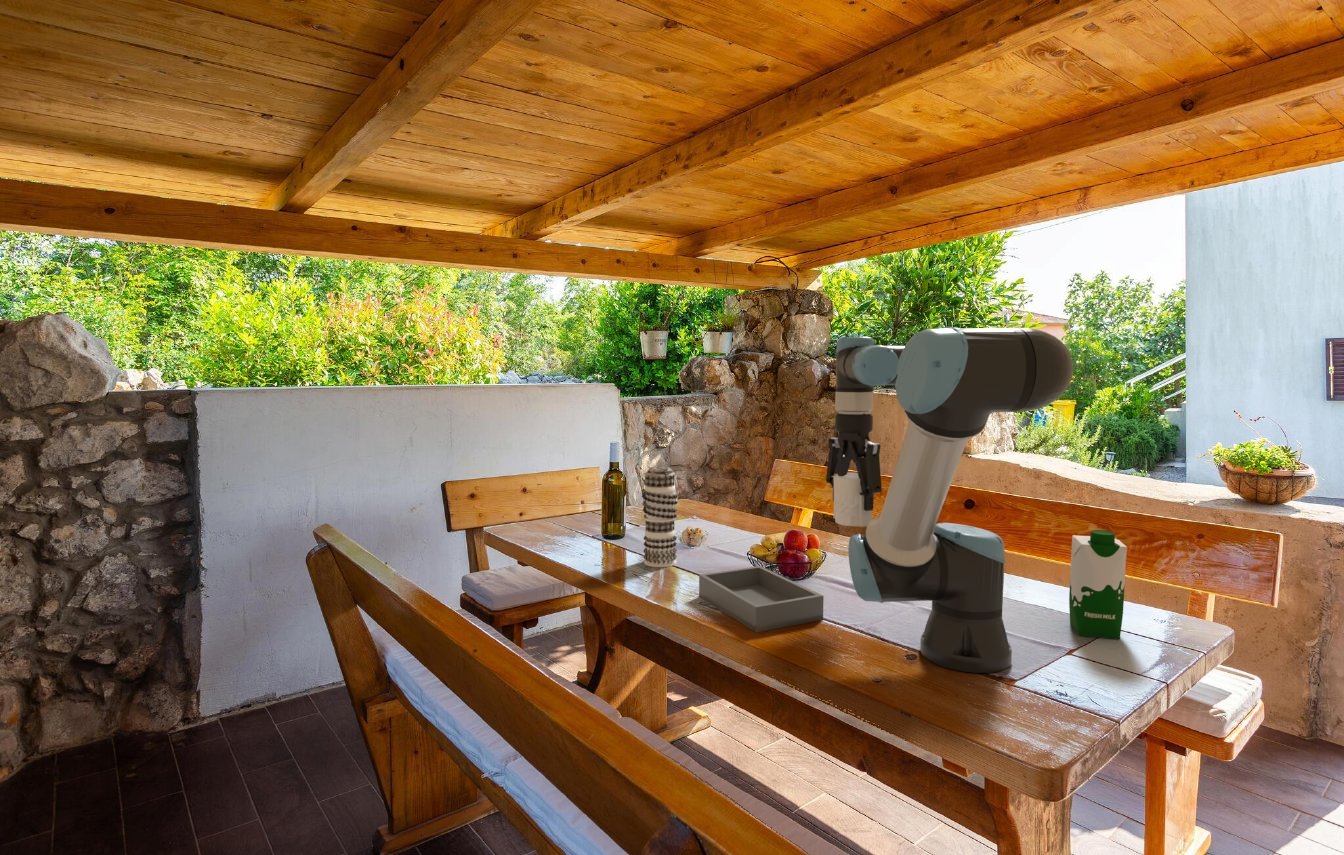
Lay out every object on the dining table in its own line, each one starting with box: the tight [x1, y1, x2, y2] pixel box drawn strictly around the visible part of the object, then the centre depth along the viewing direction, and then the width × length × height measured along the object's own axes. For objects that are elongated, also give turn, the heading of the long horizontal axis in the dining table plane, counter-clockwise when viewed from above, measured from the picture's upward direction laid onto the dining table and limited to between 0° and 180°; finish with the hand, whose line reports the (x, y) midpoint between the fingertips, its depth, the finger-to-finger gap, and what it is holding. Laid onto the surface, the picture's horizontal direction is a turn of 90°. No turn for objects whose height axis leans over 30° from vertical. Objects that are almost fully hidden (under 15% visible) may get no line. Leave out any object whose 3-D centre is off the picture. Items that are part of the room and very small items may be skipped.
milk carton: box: [1068, 529, 1128, 640], centre depth 142 cm, size 9×9×20 cm
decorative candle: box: [641, 466, 678, 568], centre depth 191 cm, size 9×9×25 cm
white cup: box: [832, 472, 868, 527], centre depth 153 cm, size 8×8×10 cm
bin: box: [698, 565, 825, 633], centre depth 157 cm, size 24×16×5 cm, turn 25°
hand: (852, 521), depth 154 cm, fingers closed on white cup, 7 cm apart
